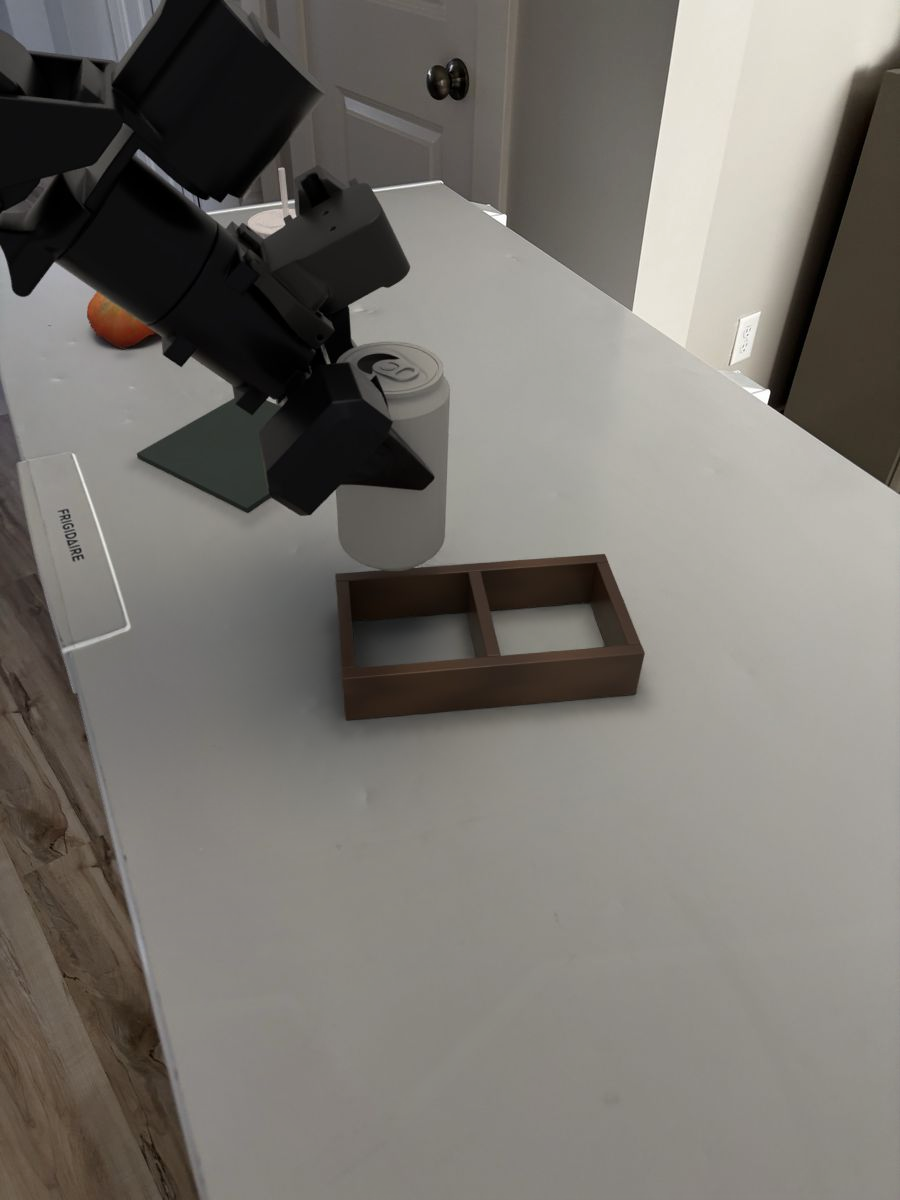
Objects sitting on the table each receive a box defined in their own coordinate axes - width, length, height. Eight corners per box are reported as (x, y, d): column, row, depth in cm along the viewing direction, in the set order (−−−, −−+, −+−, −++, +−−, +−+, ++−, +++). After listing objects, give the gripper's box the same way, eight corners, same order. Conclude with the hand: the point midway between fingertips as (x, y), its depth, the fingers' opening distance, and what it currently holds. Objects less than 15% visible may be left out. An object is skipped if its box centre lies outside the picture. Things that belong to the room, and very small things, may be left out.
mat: (137, 457, 73) (136, 453, 72) (246, 395, 80) (246, 391, 80) (247, 512, 68) (247, 508, 67) (353, 440, 75) (353, 436, 75)
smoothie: (339, 317, 91) (328, 167, 82) (297, 342, 87) (281, 187, 78) (288, 301, 94) (273, 154, 84) (246, 325, 90) (224, 173, 80)
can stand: (345, 720, 53) (341, 679, 51) (338, 614, 60) (335, 573, 57) (636, 694, 55) (645, 653, 53) (598, 593, 62) (605, 553, 59)
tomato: (72, 338, 84) (82, 258, 84) (92, 356, 91) (101, 283, 91) (163, 351, 85) (172, 272, 85) (176, 369, 92) (184, 296, 92)
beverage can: (387, 501, 59) (383, 325, 51) (466, 541, 57) (475, 361, 49) (317, 548, 56) (301, 366, 48) (398, 594, 53) (396, 409, 45)
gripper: (329, 208, 33) (581, 439, 43) (268, 77, 46) (471, 275, 56) (143, 425, 37) (414, 592, 46) (136, 246, 50) (348, 404, 60)
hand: (414, 449), depth 52 cm, fingers closed on beverage can, 6 cm apart
